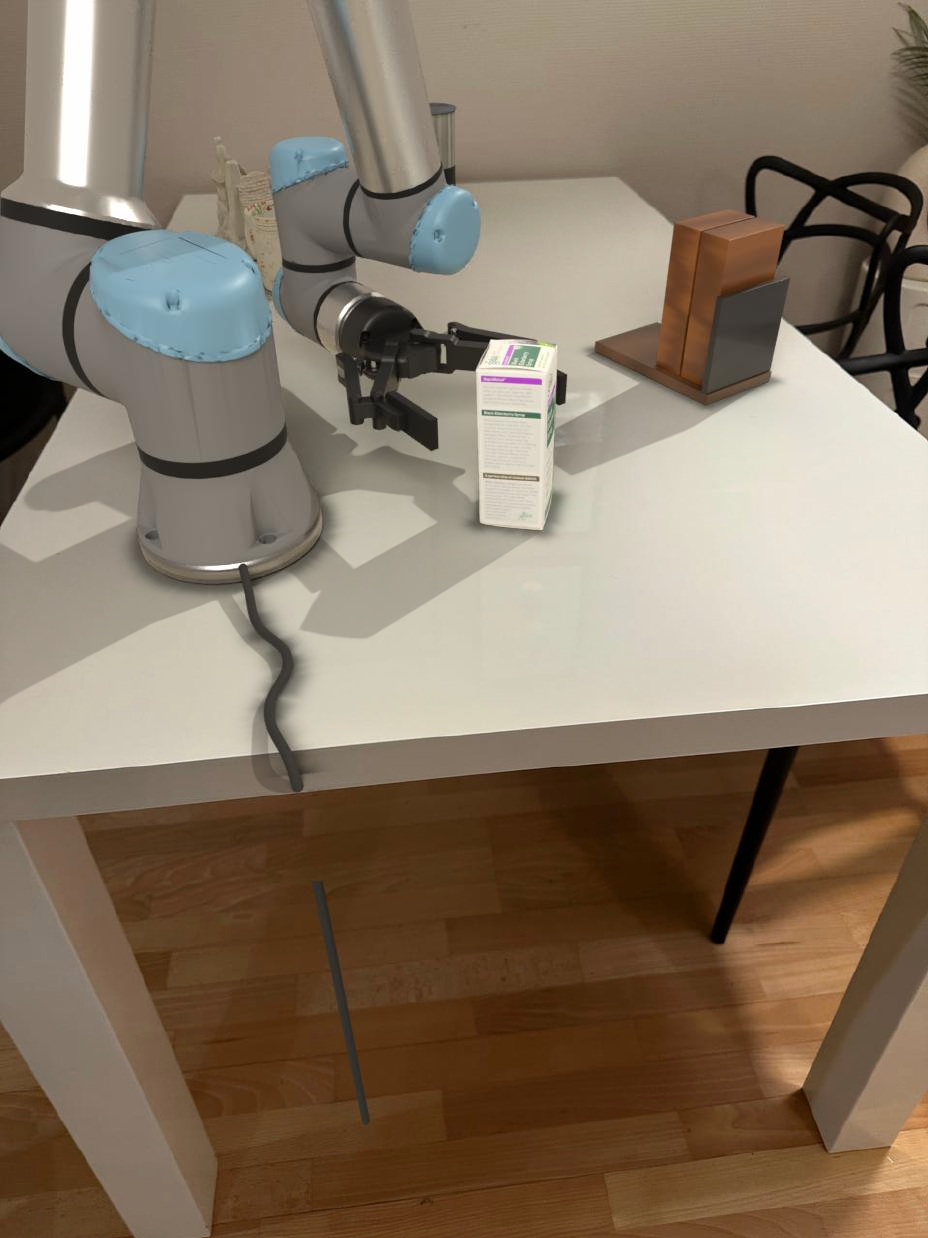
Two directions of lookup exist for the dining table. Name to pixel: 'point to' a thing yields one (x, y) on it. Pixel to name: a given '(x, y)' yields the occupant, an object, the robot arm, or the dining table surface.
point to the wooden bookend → (712, 309)
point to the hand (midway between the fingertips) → (501, 411)
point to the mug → (264, 240)
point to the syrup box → (516, 432)
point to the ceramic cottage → (236, 195)
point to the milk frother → (445, 137)
